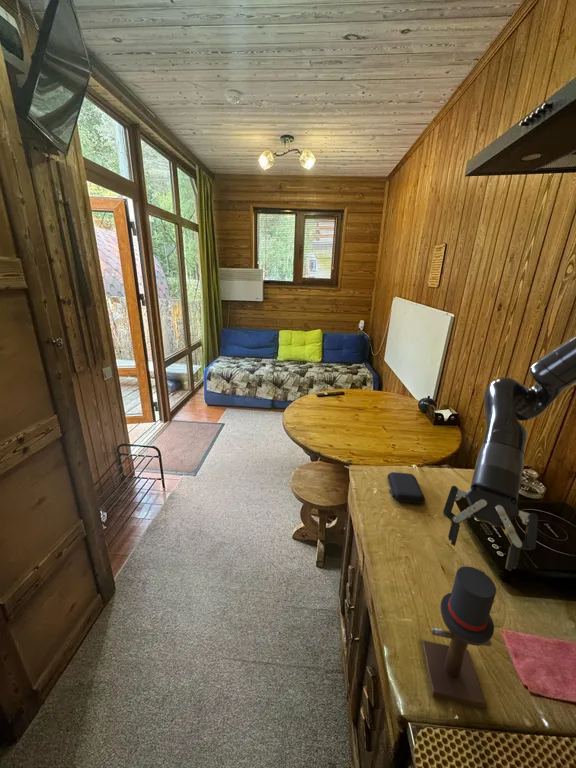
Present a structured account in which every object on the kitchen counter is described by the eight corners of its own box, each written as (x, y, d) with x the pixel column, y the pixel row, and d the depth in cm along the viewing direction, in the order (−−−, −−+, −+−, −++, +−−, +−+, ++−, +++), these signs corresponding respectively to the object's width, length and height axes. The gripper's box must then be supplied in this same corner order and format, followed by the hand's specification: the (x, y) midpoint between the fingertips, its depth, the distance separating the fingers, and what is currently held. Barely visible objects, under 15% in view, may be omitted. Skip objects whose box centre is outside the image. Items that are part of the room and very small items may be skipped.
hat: (492, 610, 52) (503, 574, 49) (493, 654, 45) (506, 615, 43) (442, 587, 55) (450, 553, 53) (437, 625, 49) (446, 588, 47)
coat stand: (470, 654, 58) (487, 600, 53) (488, 709, 50) (509, 651, 46) (418, 643, 59) (429, 589, 55) (427, 695, 52) (442, 637, 47)
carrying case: (383, 476, 111) (390, 503, 97) (384, 469, 110) (391, 495, 96) (413, 479, 110) (425, 507, 96) (415, 471, 109) (427, 499, 95)
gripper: (457, 453, 61) (435, 535, 56) (549, 479, 53) (534, 578, 48) (456, 464, 67) (436, 540, 61) (539, 489, 59) (525, 578, 53)
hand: (479, 556), depth 54 cm, fingers open, 8 cm apart
